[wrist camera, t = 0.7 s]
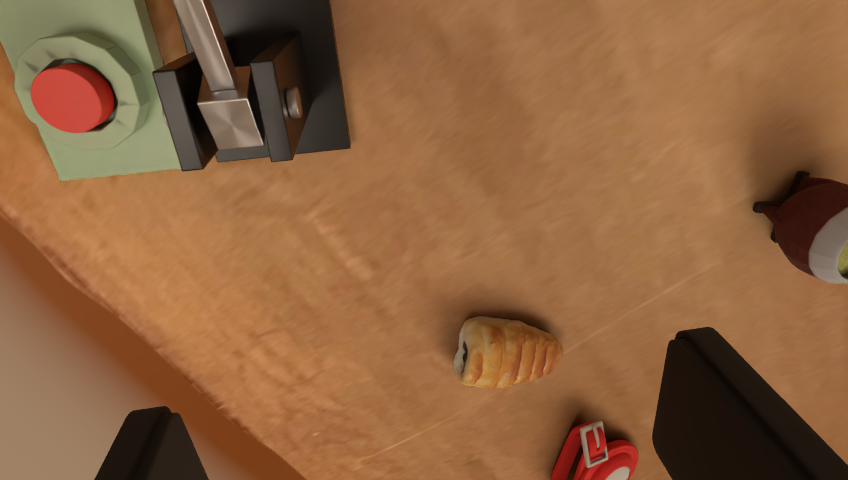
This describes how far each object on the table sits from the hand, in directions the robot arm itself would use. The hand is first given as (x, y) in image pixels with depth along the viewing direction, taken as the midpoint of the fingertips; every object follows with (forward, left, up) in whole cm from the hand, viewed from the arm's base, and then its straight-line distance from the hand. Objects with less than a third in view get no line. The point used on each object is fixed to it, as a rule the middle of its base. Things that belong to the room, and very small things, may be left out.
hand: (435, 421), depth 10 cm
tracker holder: (+38, +18, -29) cm, 51 cm away
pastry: (+22, +8, -29) cm, 38 cm away
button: (-3, -17, -26) cm, 31 cm away
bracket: (-3, -7, -29) cm, 30 cm away
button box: (-3, -17, -29) cm, 34 cm away
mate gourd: (+12, +33, -29) cm, 46 cm away
